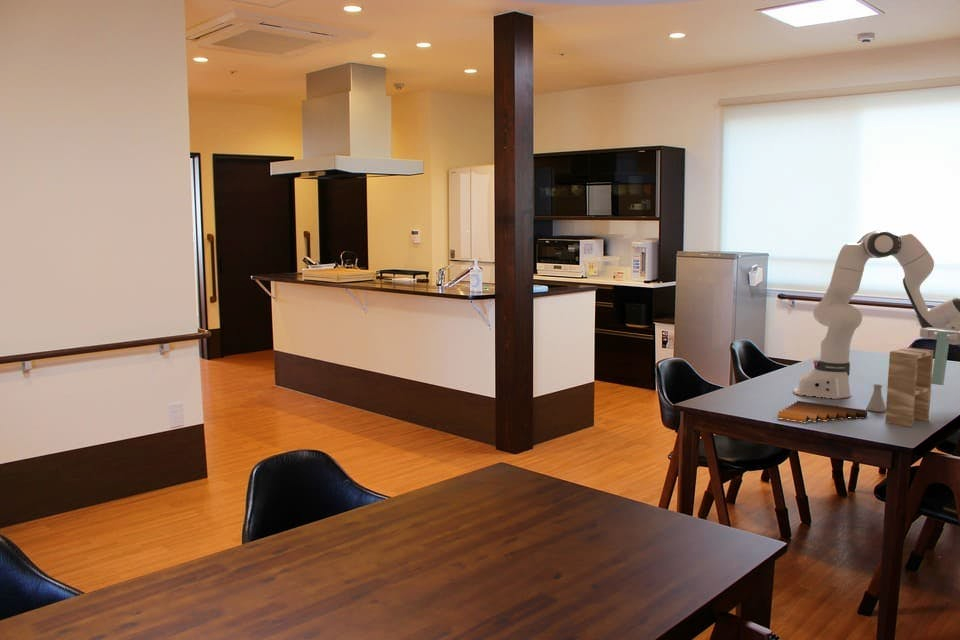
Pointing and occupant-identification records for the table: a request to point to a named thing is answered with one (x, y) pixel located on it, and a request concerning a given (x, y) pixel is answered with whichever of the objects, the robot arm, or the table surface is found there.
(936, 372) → the mint green bar
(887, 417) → the rack
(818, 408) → the pan flute
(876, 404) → the flask
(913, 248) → the robot arm
